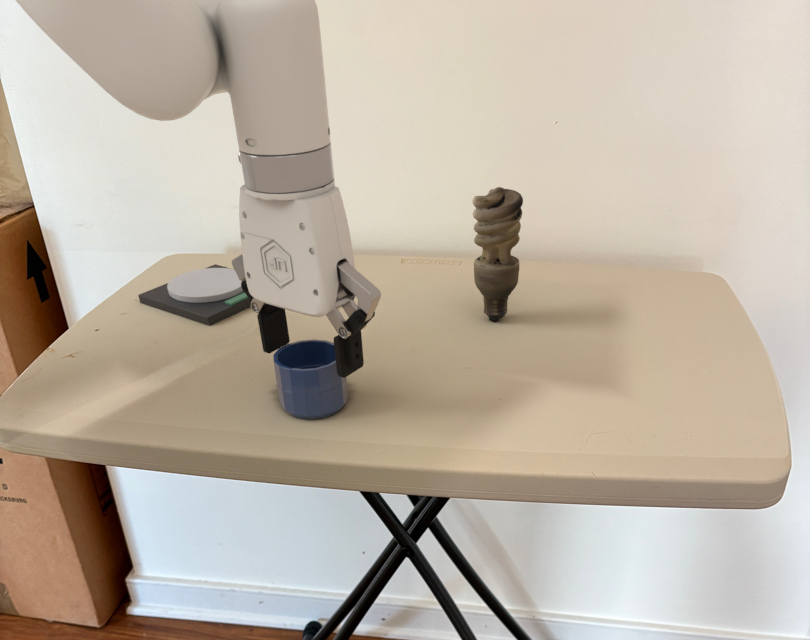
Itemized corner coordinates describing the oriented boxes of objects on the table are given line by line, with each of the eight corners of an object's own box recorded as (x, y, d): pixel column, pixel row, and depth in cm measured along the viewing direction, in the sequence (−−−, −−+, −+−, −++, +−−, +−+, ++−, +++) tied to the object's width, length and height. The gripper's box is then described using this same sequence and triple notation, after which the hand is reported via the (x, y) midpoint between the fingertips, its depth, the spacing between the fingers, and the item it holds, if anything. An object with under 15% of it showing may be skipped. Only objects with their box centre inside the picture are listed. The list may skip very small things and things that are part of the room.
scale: (211, 336, 91) (206, 310, 89) (142, 313, 97) (136, 288, 95) (286, 301, 99) (283, 276, 97) (218, 281, 105) (214, 258, 103)
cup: (317, 428, 73) (311, 377, 70) (267, 409, 77) (258, 359, 73) (361, 400, 77) (357, 350, 74) (312, 382, 81) (306, 334, 77)
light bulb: (466, 326, 91) (469, 193, 81) (473, 308, 95) (476, 180, 85) (513, 329, 90) (521, 195, 80) (518, 311, 94) (527, 181, 84)
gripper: (184, 168, 65) (223, 353, 76) (337, 194, 57) (356, 398, 67) (248, 149, 70) (276, 326, 80) (397, 171, 61) (406, 365, 72)
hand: (312, 359), depth 74 cm, fingers open, 9 cm apart
